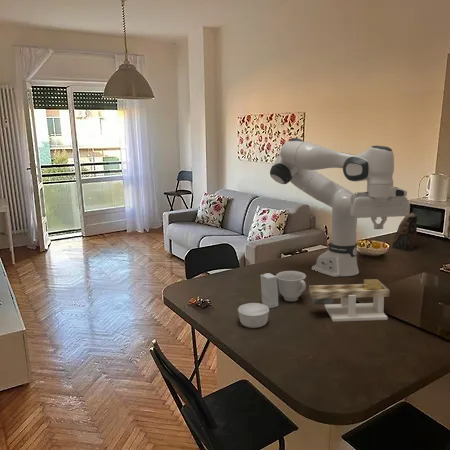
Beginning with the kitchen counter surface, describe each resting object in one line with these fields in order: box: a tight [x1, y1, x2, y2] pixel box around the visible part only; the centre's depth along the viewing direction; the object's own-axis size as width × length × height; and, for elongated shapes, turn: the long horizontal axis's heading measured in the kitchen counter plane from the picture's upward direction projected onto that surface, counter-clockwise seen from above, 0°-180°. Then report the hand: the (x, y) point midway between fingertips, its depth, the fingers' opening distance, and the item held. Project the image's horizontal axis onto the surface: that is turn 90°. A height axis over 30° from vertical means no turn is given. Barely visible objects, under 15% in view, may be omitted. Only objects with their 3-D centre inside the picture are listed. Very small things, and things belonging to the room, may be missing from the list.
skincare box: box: [259, 272, 279, 309], centre depth 160 cm, size 6×4×12 cm
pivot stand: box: [324, 295, 389, 322], centre depth 149 cm, size 19×13×9 cm
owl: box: [391, 212, 418, 252], centre depth 231 cm, size 13×13×20 cm
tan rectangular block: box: [363, 278, 383, 290], centre depth 148 cm, size 5×4×4 cm
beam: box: [308, 283, 390, 305], centre depth 148 cm, size 27×8×5 cm, turn 89°
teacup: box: [275, 270, 307, 302], centre depth 164 cm, size 12×15×10 cm
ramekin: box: [237, 302, 270, 329], centre depth 145 cm, size 11×11×5 cm
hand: (378, 228), depth 151 cm, fingers closed
